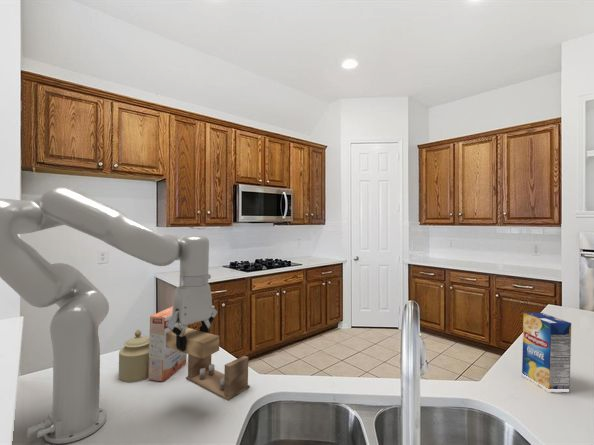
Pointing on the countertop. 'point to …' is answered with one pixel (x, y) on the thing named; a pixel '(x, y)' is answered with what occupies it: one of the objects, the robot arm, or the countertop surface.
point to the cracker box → (162, 348)
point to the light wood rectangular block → (195, 343)
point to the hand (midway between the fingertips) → (192, 345)
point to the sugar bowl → (134, 359)
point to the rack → (219, 376)
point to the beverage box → (546, 350)
